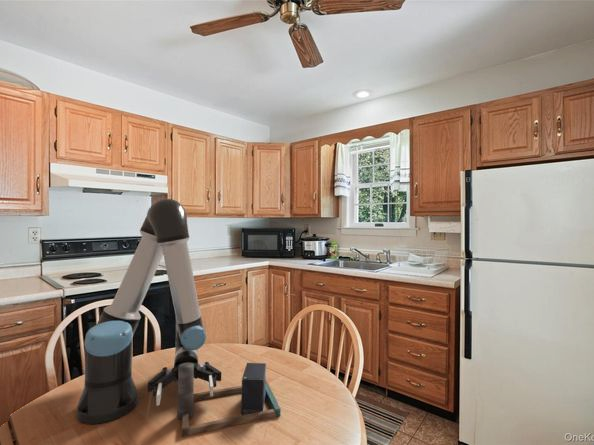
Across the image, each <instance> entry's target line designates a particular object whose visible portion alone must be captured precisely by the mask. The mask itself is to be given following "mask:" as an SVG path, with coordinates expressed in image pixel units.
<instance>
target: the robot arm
mask: <svg viewBox="0 0 594 445" xmlns="http://www.w3.org/2000/svg"><path fill="white" fill-rule="evenodd" d="M188 226H189V225H188V217H187V212H186V209H185V207H184V206H183V204H182V203H180V202H179V201H177V200H175V199H171V198H164V199H159V200H158V201H155V202H154V203H153V204H152V205H151V206H150V207H149V208H148V210H147V212H146V216H145V218H144V221H143V222H142V225H141V227H140V230H139V233H140V235H141V239H140V241H139V243H138V245H137V247H136V250H135V252H134V254H133V256H132V259H131V260H130V263H129V265H128V268H127V269H126V272H125V274H124V277H123V278H122V280H121V283H120V285H119V288H118V289H117V292H116V294H115V295H114V298H113V300H112V302H111V304H110V305H108V306H105V307H104V308H103V310H102V312H101V314H100V317H99V318H98V320H97V323H96V324H95V325H94V326H92V327H90V328H89V329H88V330H87V332H86V334H85V339H84V350H85V351H84V387H83V389H82V392H81V395H80V398H79V401H78V403H77V405H76V414H75V415H76V416H75V417H76V419H77V421H78V422H80V423H82V424H86V425H95V424H103V423H108V422H111V421H114V420H117V419H119V418H121V417H123V416H125V415H126V414H129V413H130V412H131V411H132V410H133V409H135V407H136V406H137V404H138V401H139V393H138V392H139V391H138V389H137V386H136V384H135V381H134V379H133V377H132V376H133V375H132V369H133V363H132V362H133V337H134V334H135V332H136V330H137V328H138V326H139V322H140V321H141V318H142V316H141V314H140V308H141V307H142V304H143V302H144V299H145V298H146V295H147V292H148V291H149V289H150V286H151V284H152V282H153V279H154V277H155V275H156V273H157V270H158V268H159V265H160V263H161V260H162V258H163V259H164V260H163V261H164V264H165V270H166V274H167V280H168V283H169V288H170V294H171V299H172V304H173V308H174V313H175V350H174V352H175V355H174V359H173V360H174V361H173V362H174V363H173V367H172V368H171V369H168V367H167V366H164V367H163V368H162V369H161V371H160V372H158V373H157V374H156V375H155V376H153V377H152V378H151V379H150V380H149V381H148V382H147V393H151V392H152V395H153V396H152V397H153V398H155V397H156V399H155V400H156V401H155V402H156V406H160V404H161V398H162V390H163V389H165V388H166V387H168V386H169V385H171V384H172V383H176V382H178V367H179V365H181V364H183V363H193V364H194V380H195V379H196V380H197V379H200V380H203V381H205V382H208V388H209V391H210V396H213V390H214V388H216V387H217V382H221V381H222V371H221V370H219V369H218V368H216V367H214V366H213V365H211V364H210V362H209V361H205V362H204V364H200V363H199V355H198V350H199V349H201V348H202V347H203V346H204V345H205V343H206V340H207V333H206V329H205V328H204V323H203V320H202V313H201V308H200V303H199V299H198V293H197V287H196V282H195V277H194V272H193V268H192V262H191V256H190V251H189V246H188V241H189V239H190V234H189V227H188Z"/></svg>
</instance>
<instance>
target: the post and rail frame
mask: <svg viewBox="0 0 594 445" xmlns="http://www.w3.org/2000/svg"><path fill="white" fill-rule="evenodd" d="M194 381H195V378H194V364H193V363H183V364H181V365H179V367H178V381H177V385H178V386H177V420H178V421H181V422H182V425H181V427H182V430H181V433H182V435H181V436H182V437H185V436H191V435H196V434H200V433H205V432H210V431H215V430H219V429H224V428H229V427H233V426H237V425H241V424H247V423H251V422H256V421H261V420H265V419H270V418H275V417H280V416H281V406H280V405H279V402H278V400H277V399H276V397H275V394H274V392H273V391H272V389H271V386H270V385H269V383H268V381H267V380H266V394H265V399H266V400H267V402H268V404H269V406H270V408H271V409H267V410H263V411H261V412H256V413H251V414H246V415H241V414H240V415H237V416H233V417H226V418H222V419H217V420H213V421H208V422H203V423H198V424H194V425H193V424H192V425H190V423H189V420H191V419H192V418H193V416H194V402H196V401H200V400H207V399H211V398H212V399H213V398H218V397H222V396H229V395H234V394H235V395H236V394H240V393H241V394H242V385H237V386H231V387H225V388H220V389H213V396H210V390H208V391H202V392H198V393H194Z"/></svg>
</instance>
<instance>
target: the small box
mask: <svg viewBox="0 0 594 445" xmlns="http://www.w3.org/2000/svg"><path fill="white" fill-rule="evenodd" d="M266 381H267V364H266V363H263V362H246V365H245V369H244V371H243V374H242V378H241V386H242V392H241V401H240V402H241V404H240V405H241V406H240V416H241V415H246V414H251V413H256V412H261V411H264V408H265V407H264V406H265V401H266V395H265V394H266Z"/></svg>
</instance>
